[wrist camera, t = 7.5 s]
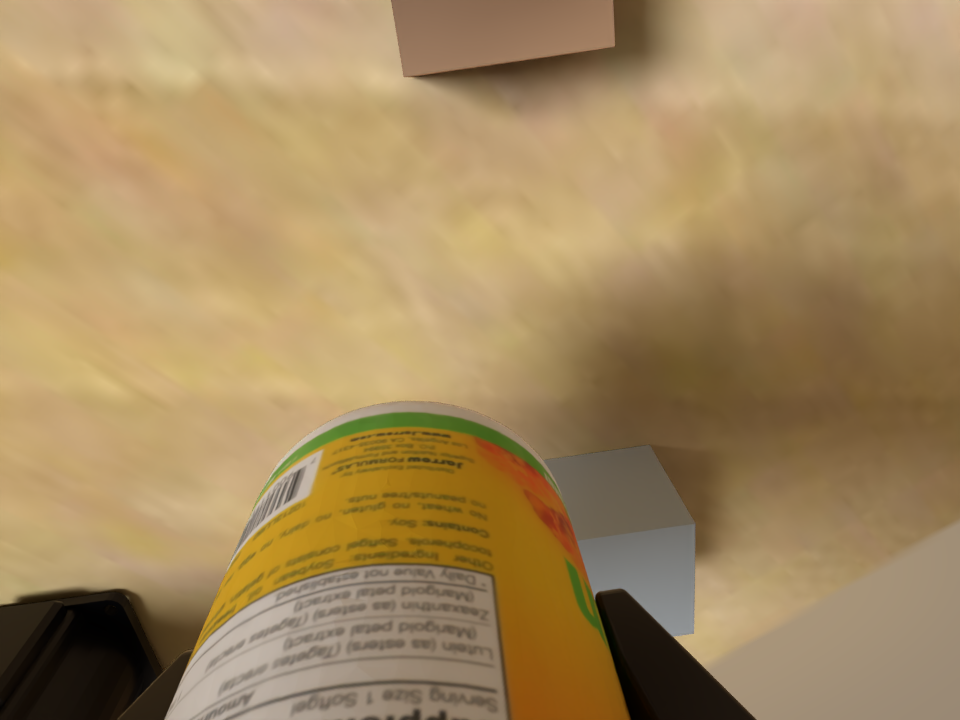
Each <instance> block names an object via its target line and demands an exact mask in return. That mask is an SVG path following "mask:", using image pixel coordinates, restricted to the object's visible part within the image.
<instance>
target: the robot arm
mask: <svg viewBox="0 0 960 720" xmlns="http://www.w3.org/2000/svg"><path fill="white" fill-rule="evenodd" d="M595 602H596V605H597V609H598V612H599V615H600V618H601V621H602V625H603V628H604V631H605V635H606V638H607V641H608V645H609V648H610V651H611V655H612V658H613V661H614V664H615V668H616V671H617V674H618V677H619V681H620V684H621V687H622V691H623V694H624V697H625V700H626V704H627V707H628V710H629V713H630V717H631V720H756V719H755V718H754V717H753V716H752V715H751V714H750V713H749V712H748V711H747V710H746V709H745V708H744V707H743V706H742V705H741V704H740V703H739V702H738V701H737V700H736V699H735V698H734V697H733V696H732V695H731V694H730V693H729V692H728V691H727V690H726V689H725V688H724V687H723V686H722V685H721V684H720V683H719V682H718V681H717V680H716V679H715V678H714V677H713V676H712V675H711V674H710V673H709V672H708V671H707V670H706V669H705V668H704V667H703V666H702V665H701V664H700V663H699V662H698V661H697V660H696V659H695V658H694V657H693V656H692V655H691V654H690V653H689V652H688V651H687V650H686V649H685V648H684V647H683V646H682V645H681V644H680V643H679V642H678V641H677V640H676V639H675V638H674V637H673V636H672V635H671V634H669V633H668V632H667V631H666V630H665V629H664V628H663V627H662V626H661V625H660V624H659V623H658V622H657V621H656V620H655V619H654V618H653V617H652V616H651V615H650V614H649V613H648V612H647V611H646V610H645V609H644V608H643V607H642V606H641V605H640V604H639V603H638V602H637V601H636V600H635V599H634V598H633V597H632V596H631V595H630V594H629V593H628V592H627V591H626V590H624V589H621V588H619V589H612V590H605V591H599V592H598V593H597V594H596V596H595ZM111 605H112V606H111ZM113 606H115V607H113ZM193 650H194V649H193ZM193 650H187V651H185V652H183V653H182V654H181V655H179V656H178V657H177V658H176V659H175V660H174V661H173V662H172V664H171V665H170V666H169V667H168V668H167V669H166V670H165V671H164V672H162V670H161V668H160V665H159V663H158V661H157V659H156V657H155V655H154V653H153V651H152V648H151V646H150V644H149V642H148V640H147V638H146V636H145V634H144V632H143V629H142V627H141V625H140V623H139V621H138V619H137V617H136V615H135V612H134V610H133V608H132V606H131V604H130V602H129V600H128V599H127V597H126V596H124V595H123V594H121V593H117V592H108V593H101V594H94V595H87V596H80V597H73V598H66V599H58V600H51V601H44V602H37V603H30V604H23V605H16V606H8V607H1V608H0V720H165V717H166V715H167V713H168V710H169V708H170V705H171V703H172V701H173V698H174V696H175V694H176V691H177V689H178V686H179V684H180V681H181V679H182V677H183V674H184V672H185V669H186V667H187V664H188V662H189V659H190V657H191V655H192V653H193Z"/></svg>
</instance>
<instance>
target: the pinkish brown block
mask: <svg viewBox="0 0 960 720" xmlns="http://www.w3.org/2000/svg"><path fill="white" fill-rule="evenodd" d="M391 2H392V8H393V15H394V21H395V27H396V33H397V39H398V45H399V51H400V57H401V63H402V69H403V75H404V77H415V76H422V75H429V74H436V73H443V72H450V71H457V70H464V69H471V68H478V67H484V66H491V65H498V64H505V63H512V62H519V61H526V60H533V59H540V58H547V57H554V56H561V55H568V54H574V53H580V52H586V51H592V50H598V49H604V48H610V47H615V34H614V8H613V0H391Z"/></svg>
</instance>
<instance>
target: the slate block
mask: <svg viewBox="0 0 960 720" xmlns="http://www.w3.org/2000/svg"><path fill="white" fill-rule="evenodd" d="M543 461H544V463H545V464H546V465H547V467H548V468H549V470H550V472H551V473H552V475H553V477H554V479H555V481H556V483H557V485H558V487H559V489H560V492H561V495H562V498H563V500H564V502H565V505H566V508H567V511H568V514H569V517H570V520H571V524H572V527H573V530H574V534H575V537H576V540H577V543H578V547H579V550H580V553H581V556H582V559H583V563H584V566H585V569H586V572H587V576H588V579H589V582H590V586H591V589H592V592H593V596H594V599H595V596H596V594H597V593H598V592H599V591H605V590H612V589H619V588H621V589H624V590H626V591H627V592H628V593H629V594H630V595H631V596H632V597H633V598H634V599H635V600H636V601H637V602H638V603H639V604H640V605H641V606H642V607H643V608H644V609H645V610H646V611H647V612H648V613H649V614H650V615H651V616H652V617H653V618H654V619H655V620H656V621H657V622H658V623H659V624H660V625H661V626H662V627H663V628H664V629H665V630H666V631H667V632H668V633H669V634H671V635H672V636H673V637H674V636H680V635H687V634H694V594H695V526H696V523H695V522H694V520H693V518H692V517H691V515H690V513H689V511H688V510H687V508H686V506H685V505H684V503H683V501H682V499H681V498H680V496H679V494H678V493H677V491H676V489H675V487H674V486H673V484H672V482H671V480H670V479H669V477H668V475H667V474H666V472H665V470H664V468H663V467H662V465H661V463H660V462H659V460H658V458H657V456H656V455H655V453H654V451H653V450H652V448H651V446H650V445H644V446H637V447H631V448H624V449H617V450H610V451H603V452H596V453H589V454H582V455H575V456H568V457H562V458H555V459H548V460H543Z"/></svg>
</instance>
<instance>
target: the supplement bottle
mask: <svg viewBox="0 0 960 720" xmlns="http://www.w3.org/2000/svg"><path fill="white" fill-rule="evenodd" d="M165 720H631V717H630V713H629V710H628V707H627V704H626V700H625V697H624V694H623V691H622V687H621V684H620V681H619V677H618V674H617V671H616V668H615V664H614V661H613V658H612V655H611V651H610V648H609V645H608V641H607V638H606V635H605V631H604V628H603V625H602V621H601V618H600V615H599V612H598V609H597V605H596V602H595V599H594V596H593V592H592V589H591V586H590V582H589V579H588V576H587V572H586V569H585V566H584V563H583V559H582V556H581V553H580V550H579V547H578V543H577V540H576V537H575V534H574V530H573V527H572V524H571V520H570V517H569V514H568V511H567V508H566V505H565V502H564V500H563V498H562V495H561V492H560V489H559V487H558V485H557V483H556V481H555V479H554V477H553V475H552V473H551V472H550V470H549V468H548V467H547V465H546V464H545V463H544V461H543V460H542V459H541V457H540V456H539V455H538V454H537V453H536V452H535V451H534V450H533V449H532V447H531V446H530V445H529V444H527V443H526V442H525V441H524V440H523V439H522V438H521V437H520V436H518V435H517V434H516V433H514V432H513V431H512V430H510V429H509V428H507V427H506V426H504V425H503V424H501V423H499V422H497V421H495V420H493V419H491V418H489V417H487V416H485V415H482V414H480V413H478V412H475V411H472V410H469V409H466V408H462V407H458V406H454V405H449V404H443V403H437V402H426V401H397V402H389V403H382V404H377V405H372V406H368V407H364V408H360V409H357V410H354V411H351V412H348V413H346V414H343V415H341V416H339V417H337V418H335V419H333V420H330V421H328V422H327V423H325V424H323V425H322V426H320V427H319V428H317V429H315V430H314V431H312V432H311V433H310V434H308V435H307V436H306V437H304V438H303V439H302V440H300V441H299V442H298V443H297V444H296V445H295V446H294V447H293V448H292V449H291V450H290V451H289V452H288V453H287V454H286V455H285V456H284V457H283V458H282V459H281V461H280V462H279V463H278V465H277V466H276V467H275V469H274V470H273V472H272V473H271V475H270V477H269V479H268V480H267V482H266V484H265V486H264V488H263V490H262V492H261V494H260V496H259V497H258V499H257V501H256V503H255V506H254V508H253V510H252V513H251V515H250V517H249V520H248V522H247V524H246V526H245V529H244V531H243V534H242V536H241V538H240V540H239V543H238V545H237V547H236V550H235V552H234V555H233V557H232V559H231V562H230V564H229V566H228V569H227V571H226V574H225V576H224V578H223V581H222V583H221V585H220V588H219V590H218V593H217V595H216V597H215V600H214V602H213V605H212V607H211V610H210V612H209V614H208V617H207V619H206V622H205V624H204V626H203V629H202V631H201V633H200V636H199V638H198V641H197V643H196V645H195V648H194V650H193V653H192V655H191V657H190V659H189V662H188V664H187V667H186V669H185V672H184V674H183V677H182V679H181V681H180V684H179V686H178V689H177V691H176V694H175V696H174V698H173V701H172V703H171V705H170V708H169V710H168V713H167V715H166V717H165Z"/></svg>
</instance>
